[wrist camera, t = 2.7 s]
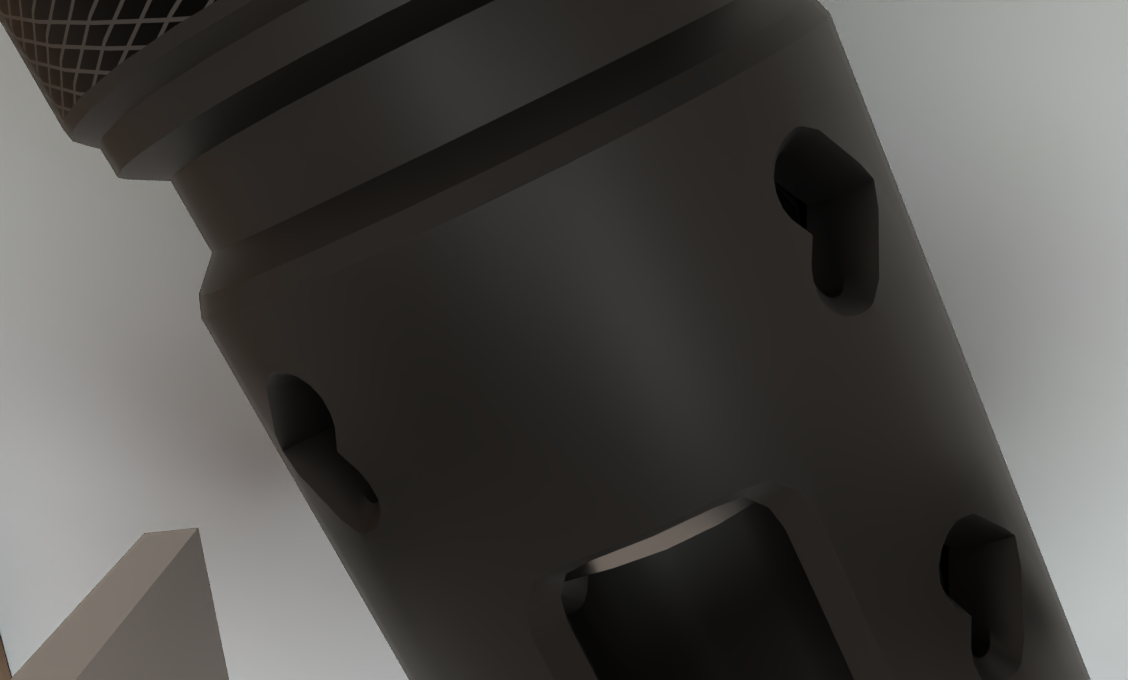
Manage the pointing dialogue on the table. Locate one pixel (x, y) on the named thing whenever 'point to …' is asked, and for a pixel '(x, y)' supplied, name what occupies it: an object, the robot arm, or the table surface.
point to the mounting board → (3, 665)
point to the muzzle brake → (580, 329)
